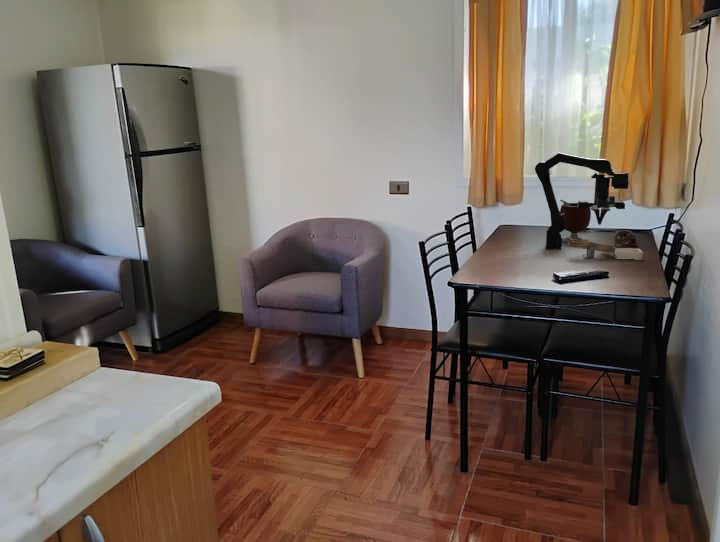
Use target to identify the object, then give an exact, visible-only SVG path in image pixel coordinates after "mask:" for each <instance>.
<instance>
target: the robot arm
mask: <svg viewBox="0 0 720 542" xmlns="http://www.w3.org/2000/svg"><path fill="white" fill-rule="evenodd" d="M560 163H562V164H568V165H573V166H579V167H583V168H588V169H591V170H592V171H594V174H593V175H590V176H591V179H595V183H594V184H595V185H594V198H593V202H589V201H588V200H578V201H577V203H578V204H577V207H578V208H579V209H587V208H588V207H590V209H591V212H592V211H593V212H594V214H595V217H596V221H597V225H598V226H601V224H602V222H603V220H604V218H605V215H606V214H607V213H608V212H610V211H611V208H615V209H616V210H624V209H626V204H625V202H624V201H622V200H616V198H615V196H609V195H610V187H613V189H614V190H628V189H629V183H630V181H629V172H622V173H621V172H620V173H617V172H616V173H615V170H613V169H612V163H611V161H609V159H606V158H587V157H582V156H576V155H571V154H566V153H563V152H557V153H556V154H555V155H554V156H551V158H548V159H547V160H545V161H540V162H538V163H537V164H536V165H535V168H534V172H535V174H536V176H537V177H538V179H539V182H540V183H541V186H542V189H543V192H544V196H545V199H546V202H547V206H548V209H549V212H550V225H549V227H547V229H546V231H545V232H546V234H545V245H544V247H545V249H546V250H562V247H563V241H562V234H561V233H562V232H563V231H564V230H565V225H566V222H567V221H566V219H565V215H564V213H563V214H561V213H560V210H559V206H558V203H557V199H556V195H555V191H554V188H553V184H552V181H551V170H550V169H551V168H553V167H555V166H557V165H558V164H560ZM605 174H606V175H608V176H605Z"/></svg>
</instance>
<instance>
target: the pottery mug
mask: <svg viewBox="0 0 720 542" xmlns="http://www.w3.org/2000/svg"><path fill="white" fill-rule="evenodd" d="M618 236H619V237H618ZM613 244H614V245H613V246H614V247H616V246H617V245H623V244H627V245H635V247H638V240H637V237H636V235H635V234H634V233H633V232H632V231H631V230H630V229H629V230H628V229H622V230H619V231H617V232H616V233H615V234H614V241H613Z"/></svg>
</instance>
